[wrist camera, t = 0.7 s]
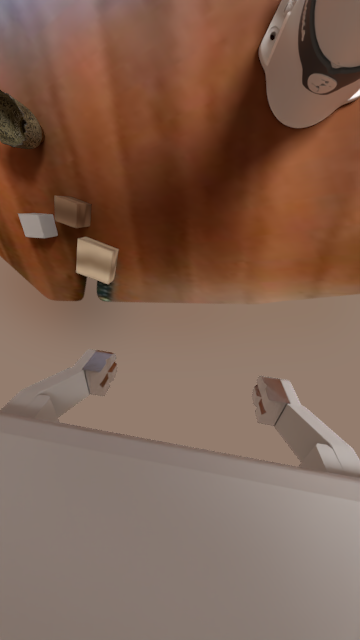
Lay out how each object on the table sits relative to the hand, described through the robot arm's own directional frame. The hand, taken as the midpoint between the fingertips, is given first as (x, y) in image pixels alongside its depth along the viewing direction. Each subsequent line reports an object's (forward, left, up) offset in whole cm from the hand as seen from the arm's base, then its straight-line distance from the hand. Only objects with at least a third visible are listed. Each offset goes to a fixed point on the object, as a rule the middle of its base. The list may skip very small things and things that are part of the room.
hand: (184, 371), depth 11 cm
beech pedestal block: (+13, -25, -43) cm, 52 cm away
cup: (-9, -41, -43) cm, 60 cm away
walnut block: (+3, -31, -43) cm, 53 cm away
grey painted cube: (+9, -40, -43) cm, 60 cm away
